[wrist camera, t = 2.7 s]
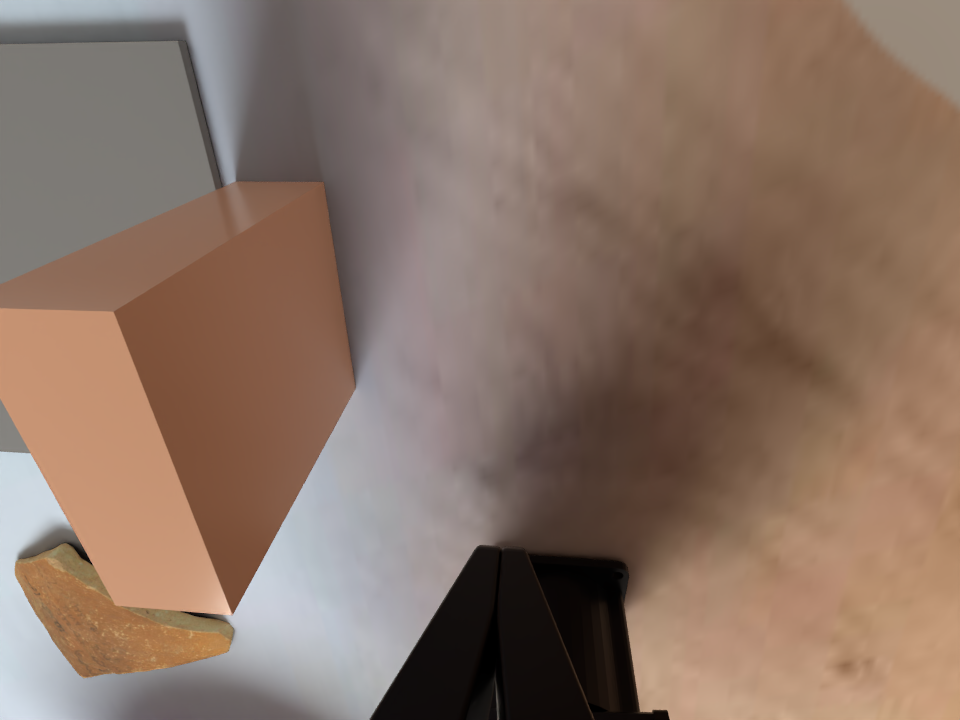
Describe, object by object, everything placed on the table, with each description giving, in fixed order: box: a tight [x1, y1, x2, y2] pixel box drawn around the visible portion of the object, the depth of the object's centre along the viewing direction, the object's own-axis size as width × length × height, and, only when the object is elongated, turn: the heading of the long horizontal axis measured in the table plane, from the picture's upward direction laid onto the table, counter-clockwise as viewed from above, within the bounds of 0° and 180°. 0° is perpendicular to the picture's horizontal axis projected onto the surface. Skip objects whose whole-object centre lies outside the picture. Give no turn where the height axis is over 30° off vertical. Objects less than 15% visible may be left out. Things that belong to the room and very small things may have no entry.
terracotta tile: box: [0, 181, 356, 615], centre depth 15 cm, size 3×8×10 cm, turn 1°
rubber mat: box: [0, 41, 222, 453], centre depth 20 cm, size 15×16×1 cm
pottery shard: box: [15, 543, 233, 678], centre depth 30 cm, size 10×9×2 cm
